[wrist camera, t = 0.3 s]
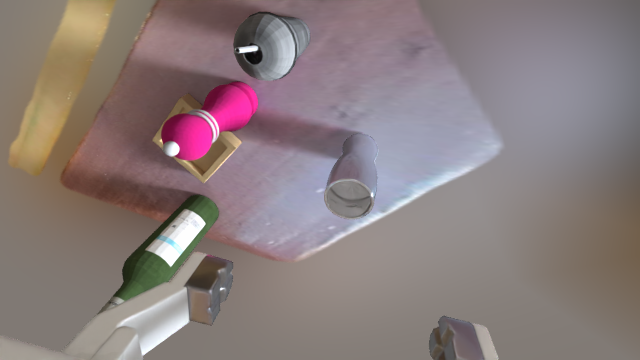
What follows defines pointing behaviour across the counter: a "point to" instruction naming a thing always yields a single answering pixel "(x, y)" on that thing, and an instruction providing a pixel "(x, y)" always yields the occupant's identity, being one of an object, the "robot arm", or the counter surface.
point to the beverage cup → (270, 45)
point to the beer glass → (353, 178)
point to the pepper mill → (208, 121)
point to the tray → (217, 151)
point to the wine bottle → (165, 249)
